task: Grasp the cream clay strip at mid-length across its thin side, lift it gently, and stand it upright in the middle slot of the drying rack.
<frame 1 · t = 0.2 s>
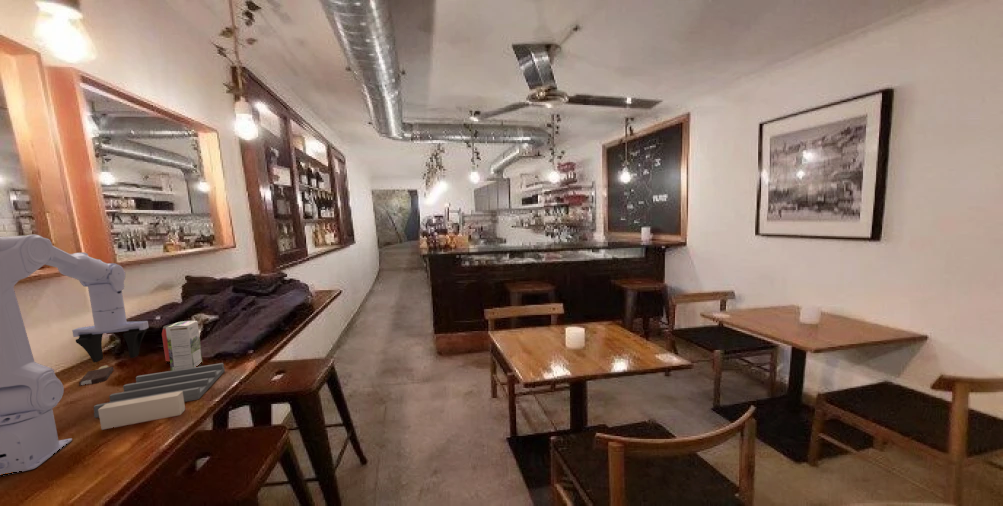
hand: (116, 358, 94), 10 cm above the bar counter, tool pointing down, fingers open, 7 cm apart
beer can: (179, 360, 118), on the bar counter
syrup box: (188, 368, 110), on the bar counter
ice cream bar: (99, 377, 108), on the bar counter
clay strip: (145, 419, 82), on the bar counter
drying rack: (167, 391, 95), on the bar counter
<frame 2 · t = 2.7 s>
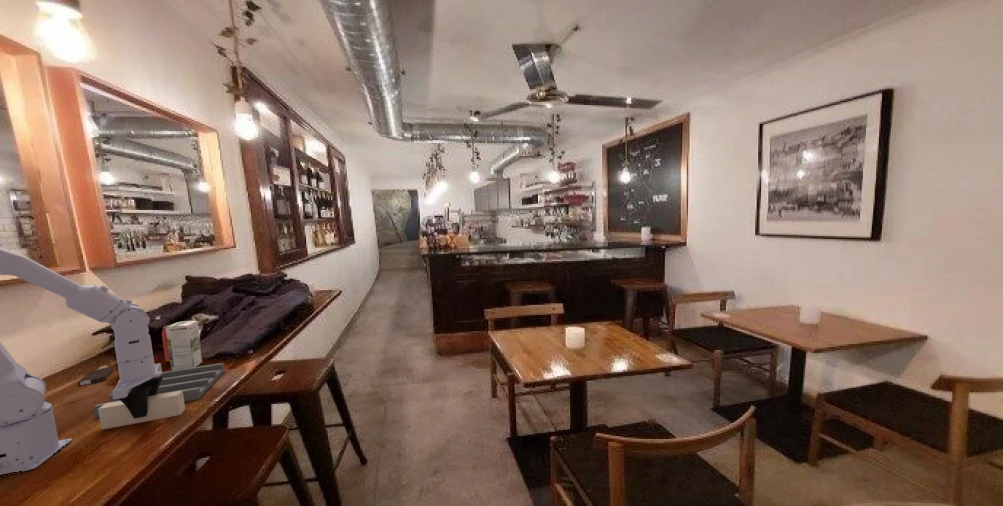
hand: (144, 413, 82), 1 cm above the bar counter, tool pointing down, fingers closed on clay strip, 2 cm apart
clay strip: (145, 419, 82), on the bar counter, touching gripper
everything else where it was.
when the fingers open (4 cm above the bar counter, at t = 6.7 s): clay strip stays where it is, resting on drying rack.
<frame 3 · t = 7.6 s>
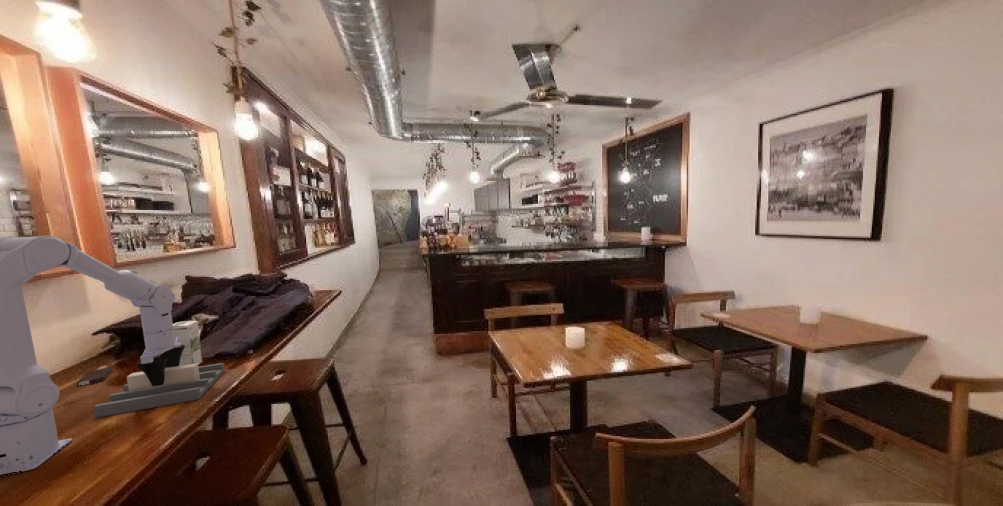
hand: (165, 378, 95), 4 cm above the bar counter, tool pointing down, fingers open, 7 cm apart
clay strip: (166, 387, 95), point 1 cm above the bar counter, touching drying rack
everything else where it was.
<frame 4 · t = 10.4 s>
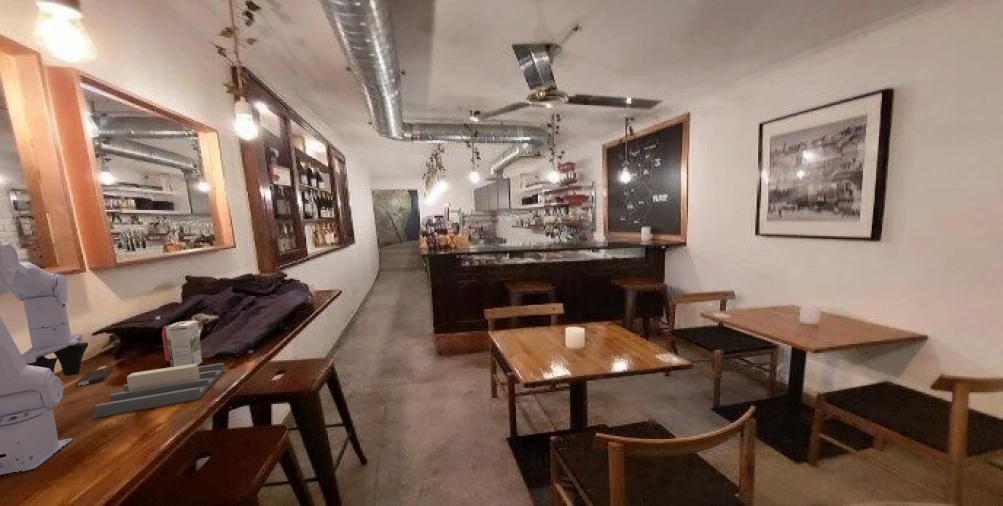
hand: (59, 381, 82), 9 cm above the bar counter, tool pointing down, fingers open, 7 cm apart
nothing on the bar counter moved.
at the end: clay strip inside the target area on the drying rack (0.2 cm from its centre), point 1.2 cm above the drying rack's base; clay strip tilted 0°; the gripper is holding nothing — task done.
